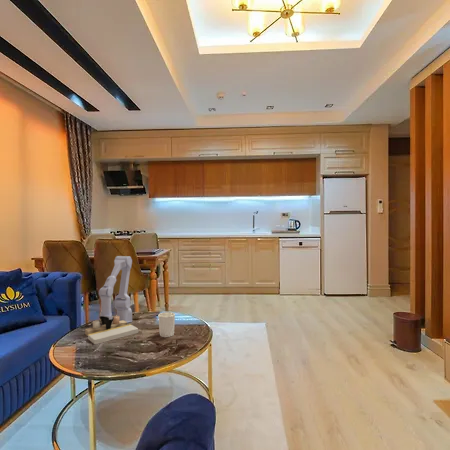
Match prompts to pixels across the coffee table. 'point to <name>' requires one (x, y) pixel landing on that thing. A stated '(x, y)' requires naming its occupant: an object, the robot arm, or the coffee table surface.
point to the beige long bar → (104, 327)
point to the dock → (112, 334)
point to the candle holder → (166, 324)
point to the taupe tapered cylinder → (96, 324)
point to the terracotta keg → (116, 320)
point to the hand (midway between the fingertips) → (106, 328)
